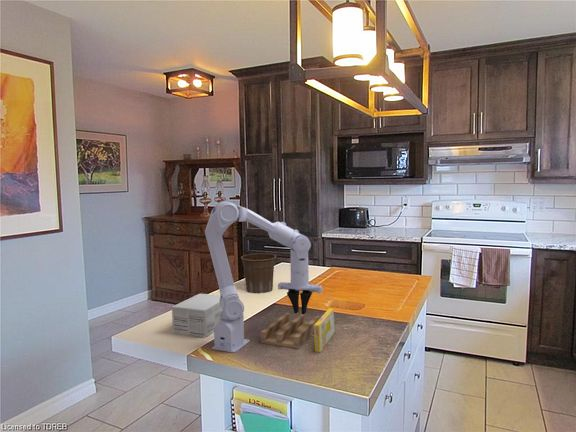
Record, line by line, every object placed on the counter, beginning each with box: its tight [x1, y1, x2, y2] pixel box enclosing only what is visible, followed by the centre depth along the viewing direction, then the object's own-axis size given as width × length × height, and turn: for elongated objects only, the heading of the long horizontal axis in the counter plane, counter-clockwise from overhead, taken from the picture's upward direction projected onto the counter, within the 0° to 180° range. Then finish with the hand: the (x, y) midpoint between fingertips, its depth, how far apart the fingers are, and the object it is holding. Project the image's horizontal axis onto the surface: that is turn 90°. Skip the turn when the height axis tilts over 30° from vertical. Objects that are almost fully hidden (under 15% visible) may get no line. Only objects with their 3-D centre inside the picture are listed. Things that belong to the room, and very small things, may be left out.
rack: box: [260, 312, 321, 349], centre depth 131 cm, size 20×12×4 cm, turn 157°
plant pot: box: [240, 253, 277, 294], centre depth 185 cm, size 16×16×16 cm
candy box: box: [313, 308, 336, 353], centre depth 124 cm, size 16×2×8 cm, turn 159°
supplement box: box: [171, 293, 223, 338], centre depth 139 cm, size 17×13×9 cm
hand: (300, 312), depth 129 cm, fingers closed
